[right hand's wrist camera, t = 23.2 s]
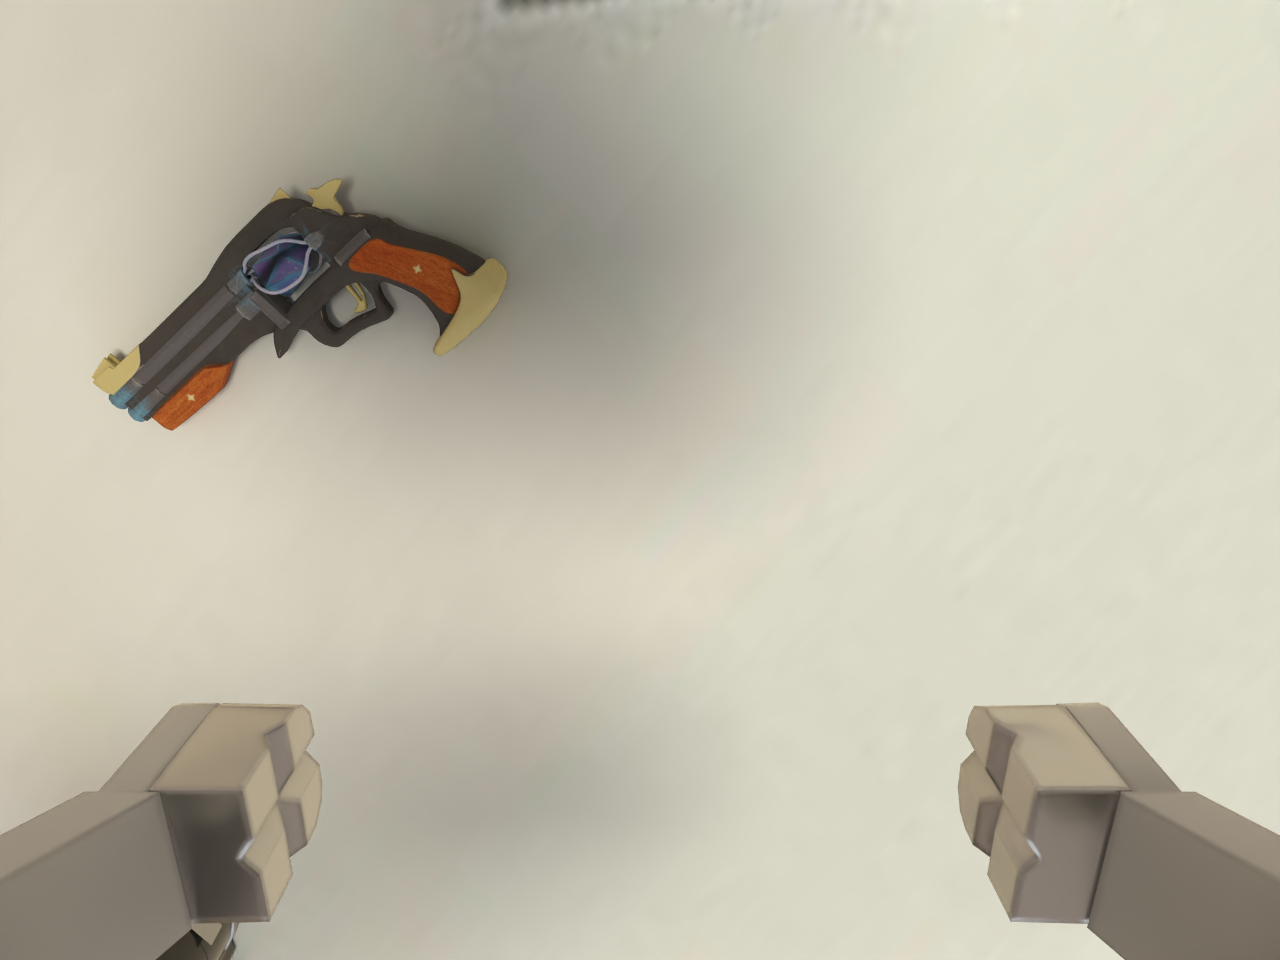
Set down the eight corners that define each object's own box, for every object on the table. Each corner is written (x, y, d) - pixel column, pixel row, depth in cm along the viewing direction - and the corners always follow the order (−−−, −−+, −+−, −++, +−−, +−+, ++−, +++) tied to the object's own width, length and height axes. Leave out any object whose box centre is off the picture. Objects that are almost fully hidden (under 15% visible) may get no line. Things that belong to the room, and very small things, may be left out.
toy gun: (518, 296, 38) (349, 107, 34) (244, 526, 43) (72, 386, 39) (524, 280, 40) (367, 101, 36) (264, 500, 46) (102, 365, 42)
